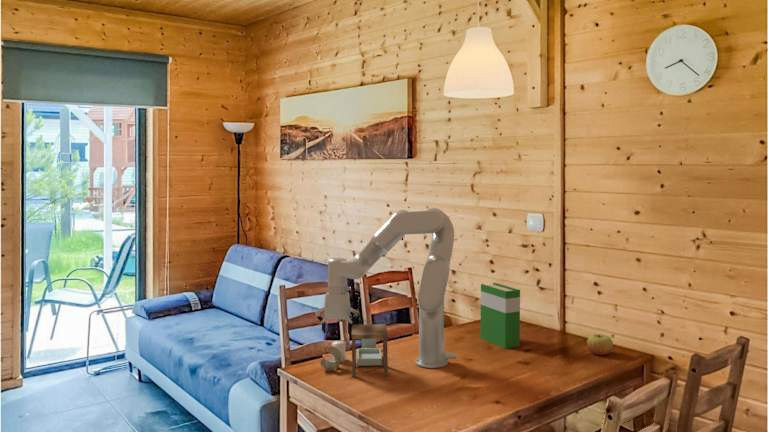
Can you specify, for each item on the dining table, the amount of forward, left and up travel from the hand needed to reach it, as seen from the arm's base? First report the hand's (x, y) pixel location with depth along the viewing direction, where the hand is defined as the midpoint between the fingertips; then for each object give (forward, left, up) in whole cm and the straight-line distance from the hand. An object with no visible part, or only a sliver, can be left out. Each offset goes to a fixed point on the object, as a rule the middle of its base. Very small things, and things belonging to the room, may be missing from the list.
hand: (336, 332), depth 243 cm
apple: (-106, -2, -11) cm, 106 cm away
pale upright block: (-1, 0, -11) cm, 11 cm away
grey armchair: (-13, -3, -11) cm, 17 cm away
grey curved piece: (+1, +12, -11) cm, 17 cm away
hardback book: (-69, -20, -11) cm, 73 cm away
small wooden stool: (-13, +14, -11) cm, 22 cm away
